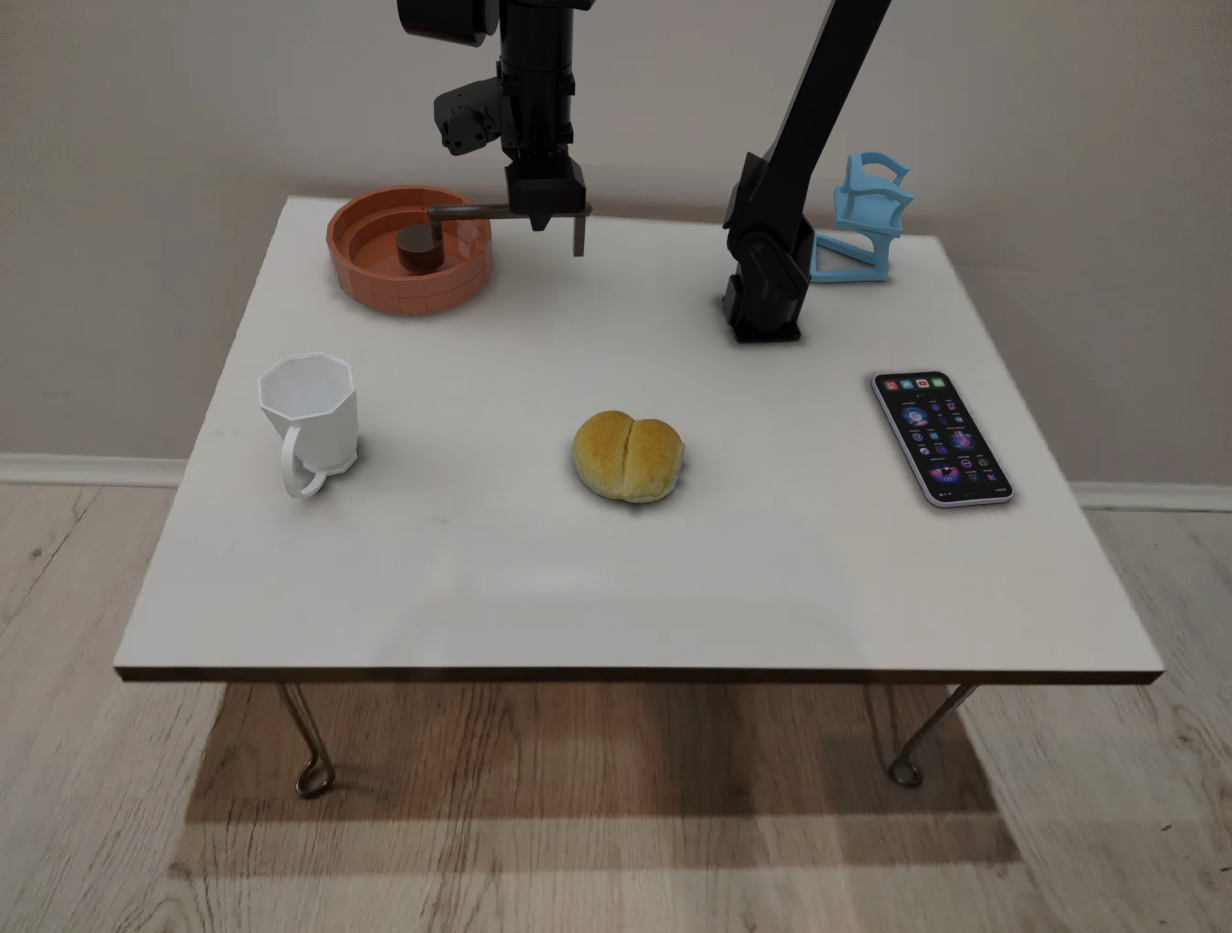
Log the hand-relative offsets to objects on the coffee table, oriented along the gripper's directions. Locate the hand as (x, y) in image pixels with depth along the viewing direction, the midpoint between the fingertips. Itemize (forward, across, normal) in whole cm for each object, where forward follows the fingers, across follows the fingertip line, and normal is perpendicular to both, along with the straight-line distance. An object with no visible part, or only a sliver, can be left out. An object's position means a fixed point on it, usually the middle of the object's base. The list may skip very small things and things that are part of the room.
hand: (537, 225), depth 74 cm
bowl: (+5, -1, -12) cm, 13 cm away
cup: (+6, +24, -19) cm, 31 cm away
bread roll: (+6, +26, +5) cm, 27 cm away
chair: (+6, +1, +33) cm, 34 cm away
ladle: (+3, 0, -4) cm, 5 cm away
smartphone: (+6, +25, +33) cm, 42 cm away
